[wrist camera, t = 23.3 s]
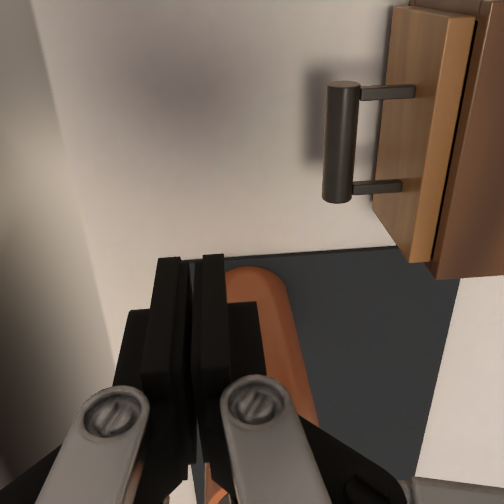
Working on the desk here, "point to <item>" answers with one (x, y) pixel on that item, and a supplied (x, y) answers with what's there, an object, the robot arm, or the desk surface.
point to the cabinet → (475, 156)
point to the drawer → (405, 126)
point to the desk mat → (363, 346)
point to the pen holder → (270, 346)
